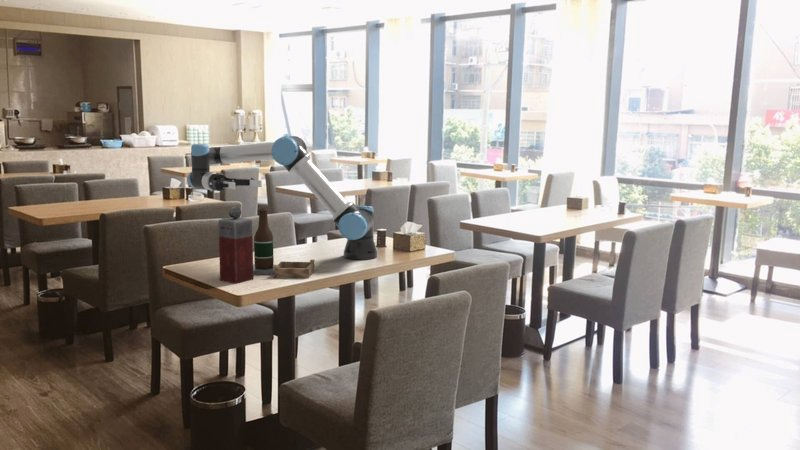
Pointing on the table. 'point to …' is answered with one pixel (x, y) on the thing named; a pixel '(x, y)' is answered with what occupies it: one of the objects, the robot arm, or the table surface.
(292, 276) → the wooden tray
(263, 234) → the beer bottle
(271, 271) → the trivet
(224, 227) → the red square bottle
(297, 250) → the table surface
